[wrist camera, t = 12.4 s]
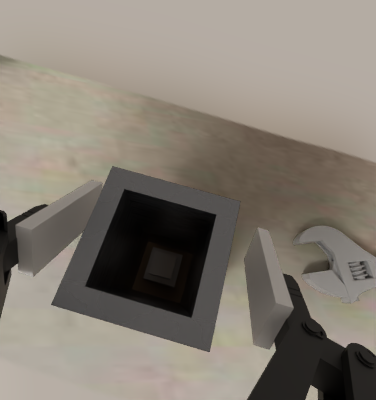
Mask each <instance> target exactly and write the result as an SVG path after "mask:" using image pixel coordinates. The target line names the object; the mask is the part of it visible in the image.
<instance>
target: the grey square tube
mask: <svg viewBox="0 0 376 400" xmlns="http://www.w3.org/2000/svg"><path fill="white" fill-rule="evenodd" d="M239 206H240V201H237V200H233V199H229V198H226V197H222V196H219V195H215V194H211V193H208V192H204V191H201V190H197V189H193V188H190V187H186V186H183V185H179V184H175V183H172V182H168V181H164V180H161V179H157V178H154V177H150V176H146V175H143V174H139V173H136V172H132V171H128V170H125V169H121V168H118V167H114V166H112V169H111V171H110V173H109V175H108V178H107V180H106V182H105V184H104V187H103V189H102V191H101V193H100V196H99V198H98V200H97V202H96V205H95V207H94V209H93V211H92V214H91V216H90V218H89V220H88V223H87V225H86V227H85V230H84V232H83V234H82V236H81V239H80V241H79V243H78V245H77V248H76V250H75V252H74V254H73V257H72V259H71V261H70V263H69V266H68V268H67V270H66V272H65V275H64V277H63V279H62V281H61V284H60V286H59V288H58V290H57V293H56V295H55V297H54V300H53V302H52V304H51V305H53V306H57V307H60V308H63V309H67V310H70V311H73V312H77V313H80V314H83V315H87V316H90V317H93V318H97V319H100V320H103V321H107V322H110V323H113V324H117V325H120V326H124V327H127V328H130V329H134V330H137V331H140V332H144V333H147V334H150V335H154V336H157V337H160V338H164V339H167V340H170V341H174V342H177V343H180V344H184V345H187V346H190V347H194V348H197V349H200V350H204V351H207V352H210V348H211V343H212V338H213V333H214V328H215V323H216V319H217V314H218V309H219V304H220V299H221V294H222V289H223V284H224V279H225V275H226V270H227V265H228V260H229V255H230V250H231V245H232V240H233V235H234V230H235V226H236V221H237V216H238V211H239ZM148 242H152V243H155V244H159V245H162V246H166V247H169V248H173V249H176V250H180V251H183V252H187V253H190V254H193V255H192V259H191V263H190V267H189V271H188V275H187V278H186V282H185V286H184V290H183V294H182V298H181V301H180V303H178V302H174V301H171V300H167V299H164V298H161V297H157V296H154V295H150V294H147V293H144V292H140V291H137V290H133V289H132V288H133V285H134V282H135V279H136V276H137V273H138V270H139V267H140V264H141V261H142V258H143V255H144V252H145V249H146V246H147V243H148Z"/></svg>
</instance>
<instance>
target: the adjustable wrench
mask: <svg viewBox="0 0 376 400" xmlns="http://www.w3.org/2000/svg"><path fill="white" fill-rule="evenodd" d="M307 243H316V244H317V245H318V246H319V247H320V248H321V249H322V250H323V251H324V253H325V254H326V255H327V258H328V261H329V264H330V267H329V270H328V271H321V272H314V273H307V274H302V278H303V280H304V281H305V282H306V283H307V284H308V285H310V286H311V287H312V288H314V289H315V290H317V291H319V292H321V293H323V294H326V295H330V296H334V297H340V298H341V301H342V303H353V302H355V301H359V299H358V296H359V295H360V294H361V293H363V292H365V291H367V290H369V289H371V288H374V287H376V257H374V256H373V255H371V254H370V253H368V252H367V251H365V250H364V249H362V248H361V247H360V246H358V245H357V244H356V243H354V242H353V241H352V240H351V239H349V238H348V237H347V236H346V235H344V234H343V233H342V232H340V231H339V230H337V229H335V228H332V227H329V226H314V227H311V228H309V229H307V230H305V231H303V232H301V233H299V234H298V235H297V236H296V237H295V239H294V240H293V245H300V244H307Z"/></svg>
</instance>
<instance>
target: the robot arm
mask: <svg viewBox="0 0 376 400" xmlns="http://www.w3.org/2000/svg"><path fill="white" fill-rule="evenodd" d="M102 184H103V183H101V182H98V181H94V180H91V181H89V182H88V183H86V184H84V185H83V186H81V187H79V188H77V189H76V190H74V191H72V192H71V193H69V194H67V195H66V196H64V197H62V198H60V199H59V200H57V201H55V202H54V203H52V204H50V205H46V204H43V205H40V206H36V207H34V208H32V209H30V210H28V211H27V212H25V213H23V214H22V215H19V216H17V217H15V218H14V219H12V220H10V221H8V222H7V215H6V213H5V212H4V211H1V210H0V317H1V314H2V310H3V306H4V302H5V298H6V294H7V290H8V286H9V282H10V278H11V268H12V267H14V266H15V265H16V264H17V263H18V272H19V273H22V274H25V275H28V276H32V277H34V276H35V275H36V274H37V273H38V272H39V271H40V270H41V269H42V268H44V267H45V266H46V265H47V264H48V263H49V262H50V261H51V260H52V259H53V258H55V257H56V256H57V255H58V254H59V253H60V252H61V251H62V250H63V249H64V248H66V247H67V246H68V245H69V244H70V243H71V242H72V241H73V240H74V239H75V238H77V237H78V236H79V235H80V234H81V233H82V232H83V231H84V230H85V227H86V225H87V223H88V220H89V218H90V216H91V214H92V211H93V209H94V207H95V205H96V202H97V200H98V198H99V196H100V193H101V191H102ZM244 263H245V272H246V281H247V290H248V299H249V308H250V317H251V327H252V336H253V345H256V346H259V347H262V348H266V349H269V350H270V348H271V346H272V344H273V343H274V342H275V347H276V351H275V353H274V355H273V356H272V358H271V360H270V361H269V363H268V365H267V367H266V368H265V370H264V372H263V373H262V375H261V377H260V378H259V380H258V382H257V384H256V385H255V387H254V389H253V390H252V392H251V394H250V395H249V397H248V399H247V400H305V399H306V396H307V393H308V391H309V388H310V385H312V386H314V387H315V388H317V389H318V400H376V356H375V355H374V354H373V353H372V352H371V351H370V350H368V349H367V348H365V347H364V346H362V345H360V344H357V343H350V344H349V345H348V346H347V347H346V348H344V347H343V346H341V345H339V344H337V343H335V342H334V341H332V340H330V339H329V338H327V335H326V333H325V331H324V329H323V328H322V327H321V325H320V324H318V323H317V322H316V321H315V320H313V319H311V316H310V314H309V311H308V309H307V306H306V304H305V301H304V298H303V296H302V293H301V292H300V288H299V286H298V283H297V282H296V281H295V280H294V278H293V277H292V276H290V275H287V274H283V273H282V270H281V267H280V264H279V261H278V258H277V255H276V252H275V249H274V246H273V242H272V239H271V236H270V233H269V230H265V229H262V228H258V227H257V230H256V232H255V235H254V237H253V239H252V242H251V244H250V246H249V249H248V251H247V254H246V256H245V258H244Z"/></svg>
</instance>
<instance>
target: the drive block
mask: <svg viewBox="0 0 376 400" xmlns="http://www.w3.org/2000/svg"><path fill="white" fill-rule="evenodd" d="M192 255H193V254H190V253H187V252H183V251H180V250H176V249H173V248H169V247H166V246H162V245H159V244H155V243H152V242H148V243H147V246H146V249H145V252H144V255H143V258H142V261H141V264H140V267H139V270H138V273H137V276H136V279H135V282H134V285H133V288H132V289H133V290H137V291H140V292H144V293H147V294H150V295H154V296H157V297H161V298H164V299H167V300H171V301H174V302H178V303H180V301H181V298H182V294H183V290H184V286H185V282H186V278H187V275H188V271H189V267H190V263H191V259H192Z"/></svg>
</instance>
